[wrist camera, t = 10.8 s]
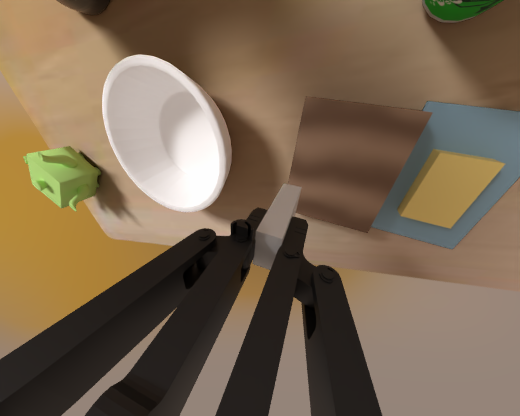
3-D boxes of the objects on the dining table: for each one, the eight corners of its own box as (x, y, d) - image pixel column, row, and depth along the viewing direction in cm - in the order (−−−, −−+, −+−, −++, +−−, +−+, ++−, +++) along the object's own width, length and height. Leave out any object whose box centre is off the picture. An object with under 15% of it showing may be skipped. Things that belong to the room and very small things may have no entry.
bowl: (197, 24, 26) (146, -2, 19) (273, 167, 32) (255, 185, 25) (129, 115, 38) (82, 119, 31) (194, 206, 44) (167, 226, 37)
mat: (427, 101, 21) (428, 101, 21) (571, 117, 18) (574, 117, 18) (364, 224, 31) (364, 225, 31) (451, 248, 28) (452, 249, 28)
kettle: (91, 142, 46) (29, 153, 37) (118, 194, 52) (72, 214, 43) (58, 145, 51) (-2, 156, 42) (87, 192, 58) (41, 210, 49)
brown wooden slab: (310, 96, 25) (305, 96, 22) (419, 110, 22) (432, 112, 19) (288, 198, 34) (282, 208, 31) (364, 218, 31) (367, 232, 27)
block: (505, 163, 20) (493, 158, 22) (440, 152, 21) (433, 148, 23) (450, 228, 25) (443, 220, 26) (400, 216, 26) (396, 209, 28)
